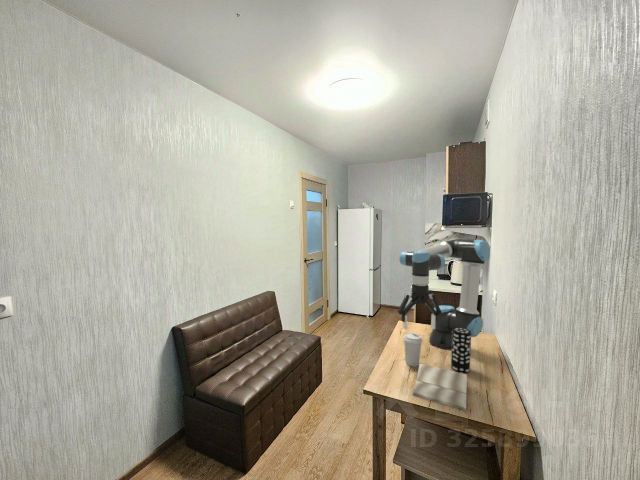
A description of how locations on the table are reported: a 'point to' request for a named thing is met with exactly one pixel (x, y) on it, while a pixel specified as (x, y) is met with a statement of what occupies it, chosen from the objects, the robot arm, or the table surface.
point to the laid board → (440, 395)
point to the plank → (442, 378)
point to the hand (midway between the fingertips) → (419, 328)
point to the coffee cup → (412, 348)
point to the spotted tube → (461, 350)
